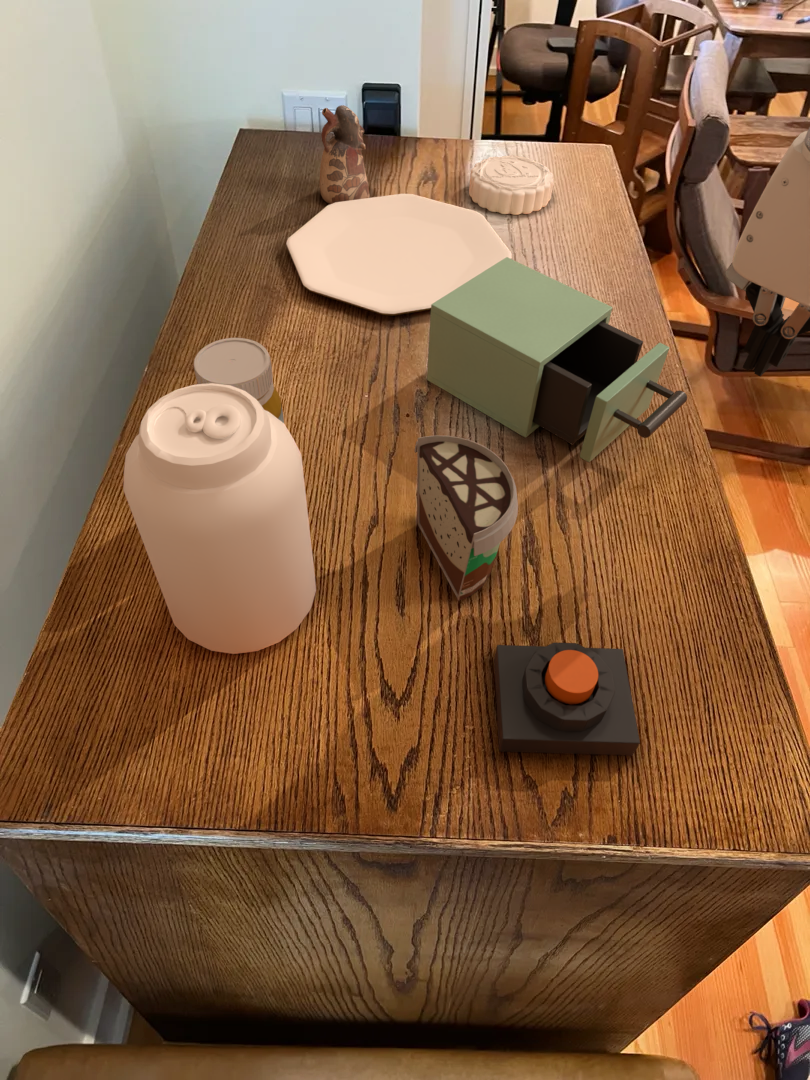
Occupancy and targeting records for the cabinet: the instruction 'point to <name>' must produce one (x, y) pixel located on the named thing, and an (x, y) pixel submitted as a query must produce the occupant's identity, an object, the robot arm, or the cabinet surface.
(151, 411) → the can
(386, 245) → the plate
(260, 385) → the bottle
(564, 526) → the cabinet surface
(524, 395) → the green drawer box
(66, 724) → the cabinet surface
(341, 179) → the figurine
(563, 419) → the green cabinet drawer
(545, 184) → the mooncake
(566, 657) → the button
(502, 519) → the food container
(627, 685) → the block
